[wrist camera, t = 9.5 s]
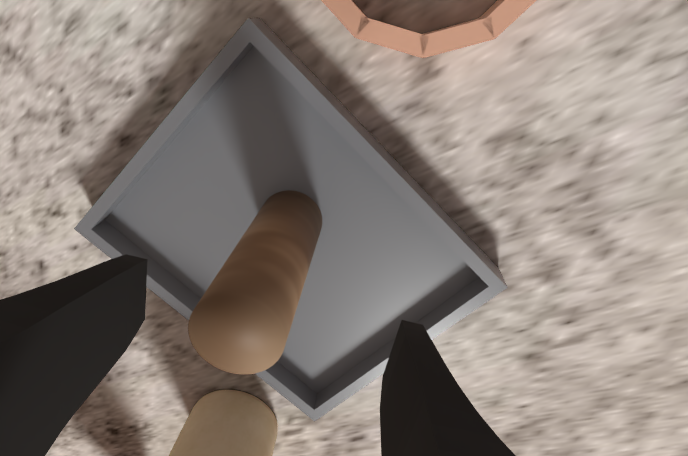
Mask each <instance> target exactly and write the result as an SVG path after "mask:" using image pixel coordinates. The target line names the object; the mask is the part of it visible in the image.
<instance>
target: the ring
mask: <svg viewBox="0 0 688 456" xmlns="http://www.w3.org/2000/svg"><path fill="white" fill-rule="evenodd" d="M321 1H322V2H323V3H324V4H325V5H326V6H327V7H328V8H329V9H330V10H331V12H332V13H333V14H334V15H335V16H336V17H337V18H338V19H339V20H340V22H341V23H342V24H343V25H344V26H345V27H346V28H347V29H348V30H349V32H350V33H351V34H352V35H353V36H354V37H356V38H357V39H361V40H364V41H367V42H371V43H374V44H377V45H381V46H384V47H387V48H391V49H394V50H397V51H401V52H404V53H407V54H411V55H414V56H417V57H421V58H425V57H429V56H433V55H436V54H440V53H444V52H448V51H451V50H455V49H459V48H463V47H467V46H470V45H474V44H478V43H482V42H485V41H489V40H493V39H495V38H496V37H497V36H498V35H500V34H501V33H502V32H503V31H504V30H505V29H506V28H507V27H508V26H509V25H510V24H511V23H513V22H514V21H515V20H516V19H517V18H518V17H519V16H520V15H521V14H522V13H523V12H524V11H526V10H527V9H528V8H529V7H530V6H531V5H532V4H533V3H534V2H535V1H536V0H497V1H496V2H495V3H494V4H493V5H492V6H491V7H490V8H489V9H488V10H487V11H486V12H485V13H484V14H483V15H482V16H481V17H480V18H478V19H474V20H471V21H467V22H464V23H460V24H456V25H453V26H449V27H445V28H442V29H438V30H434V31H431V32H427V33H424V34H420V33H417V32H413V31H410V30H407V29H403V28H400V27H397V26H393V25H390V24H387V23H383V22H380V21H377V20H374V19H370V18H368V17H367V16H366V15H365V14H364V13H363V12H362V11H361V9H360V8H359V7H358V6H357V5H356V4H355V3H354V2H353V0H321Z"/></svg>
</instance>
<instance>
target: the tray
mask: <svg viewBox="0 0 688 456" xmlns="http://www.w3.org/2000/svg"><path fill="white" fill-rule="evenodd" d="M287 190H291V191H297V192H301V193H303V194H305V195H307V196H308V197H310V198H311V199H312V200H313V201H314V202H315V203H316V204H317V206H318V207H319V209H320V211H321V215H322V228H321V232H320V235H319V238H318V241H317V244H316V248H315V251H314V254H313V257H312V261H311V264H310V267H309V270H308V273H307V277H306V280H305V283H304V286H303V290H302V293H301V296H300V299H299V302H298V306H297V309H296V312H295V315H294V319H293V322H292V325H291V328H290V331H289V335H288V338H287V341H286V344H285V348H284V351H283V353H282V355H281V357H280V358H279V360H278V361H277V362H276V363H275V364H274V365H273V366H271V367H270V368H268V369H266V370H264V371H262V372H258V373H255V374H256V375H257V376H259V377H260V378H261V379H262V380H264V381H265V382H266V383H267V384H269V385H270V386H271V387H272V388H274V389H275V390H276V391H277V392H279V393H280V394H281V395H282V396H284V397H285V398H286V399H287V400H289V401H290V402H291V403H292V404H294V405H295V406H296V407H297V408H299V409H300V410H301V411H302V412H304V413H305V414H306V415H307V416H309V417H310V418H311V419H312V420H314V421H316V420H317V419H319V418H320V417H322V416H323V415H325V414H326V413H327V412H329V411H330V410H332V409H333V408H335V407H336V406H337V405H339V404H340V403H342V402H343V401H345V400H346V399H348V398H349V397H350V396H352V395H353V394H355V393H356V392H358V391H359V390H361V389H362V388H363V387H365V386H366V385H368V384H369V383H371V382H372V381H374V380H375V379H376V378H378V377H379V376H381V375H382V374H384V371H385V368H386V365H387V362H388V359H389V356H390V353H391V350H392V347H393V344H394V341H395V338H396V335H397V332H398V329H399V326H400V323H401V320H405V321H409V322H413V323H417V324H422V325H423V326H424V327H425V329H426V331H427V333H428V334H429V336H430V338H431V340H433V339H434V338H435V337H437V336H438V335H440V334H441V333H443V332H444V331H446V330H447V329H448V328H450V327H451V326H453V325H454V324H456V323H457V322H459V321H460V320H461V319H463V318H464V317H466V316H467V315H469V314H470V313H471V312H473V311H474V310H476V309H477V308H479V307H480V306H482V305H483V304H484V303H486V302H487V301H489V300H490V299H492V298H493V297H495V296H496V295H497V294H499V293H500V292H502V291H503V290H505V289H506V288H507V285H506V283H505V281H504V279H503V276H502V274H501V272H500V270H499V268H498V267H497V266H496V265H495V264H494V263H493V262H492V261H491V260H490V259H489V258H488V257H487V256H486V255H485V253H484V252H483V251H482V250H481V249H480V248H479V247H478V246H477V245H476V244H475V243H474V242H473V241H472V240H471V239H470V238H469V237H468V236H467V235H466V234H465V233H464V231H463V230H462V229H461V228H460V227H459V226H458V225H457V224H456V223H455V222H454V221H453V220H452V219H451V218H450V217H449V216H448V215H447V214H446V213H445V212H444V211H443V209H442V208H441V207H440V206H439V205H438V204H437V203H436V202H435V201H434V200H433V199H432V198H431V197H430V196H429V195H428V194H427V193H426V192H425V191H424V190H423V189H422V187H421V186H420V185H419V184H418V183H417V182H416V181H415V180H414V179H413V178H412V177H411V176H410V175H409V174H408V173H407V172H406V171H405V170H404V169H403V168H402V167H401V165H400V164H399V163H398V162H397V161H396V160H395V159H394V158H393V157H392V156H391V155H390V154H389V153H388V152H387V151H386V150H385V149H384V148H383V147H382V146H381V145H380V143H379V142H378V141H377V140H376V139H375V138H374V137H373V136H372V135H371V134H370V133H369V132H368V131H367V130H366V129H365V128H364V127H363V126H362V125H361V124H360V123H359V121H358V120H357V119H356V118H355V117H354V116H353V115H352V114H351V113H350V112H349V111H348V110H347V109H346V108H345V107H344V106H343V105H342V104H341V103H340V102H339V101H338V99H337V98H336V97H335V96H334V95H333V94H332V93H331V92H330V91H329V90H328V89H327V88H326V87H325V86H324V85H323V84H322V83H321V82H320V81H319V80H318V79H317V77H316V76H315V75H314V74H313V73H312V72H311V71H310V70H309V69H308V68H307V67H306V66H305V65H304V64H303V63H302V62H301V61H300V60H299V59H298V58H297V57H296V55H295V54H294V53H293V52H292V51H291V50H290V49H289V48H288V47H287V46H286V45H285V44H284V43H283V42H282V41H281V40H280V39H279V38H278V37H277V36H276V35H275V33H274V32H273V31H272V30H271V29H270V28H269V27H268V26H267V25H266V24H265V23H264V22H263V21H262V20H261V19H260V18H248V19H247V20H246V21H245V22H244V24H243V25H242V26H241V27H240V28H239V30H238V31H237V32H236V33H235V34H234V36H233V37H232V38H231V39H230V41H229V42H228V43H227V44H226V45H225V47H224V48H223V49H222V50H221V51H220V53H219V54H218V55H217V56H216V58H215V59H214V60H213V61H212V62H211V64H210V65H209V66H208V67H207V68H206V70H205V71H204V72H203V73H202V74H201V76H200V77H199V78H198V79H197V81H196V82H195V83H194V84H193V85H192V87H191V88H190V89H189V90H188V91H187V93H186V94H185V95H184V96H183V97H182V99H181V100H180V101H179V102H178V104H177V105H176V106H175V107H174V108H173V110H172V111H171V112H170V113H169V114H168V116H167V117H166V118H165V119H164V120H163V122H162V123H161V124H160V125H159V127H158V128H157V129H156V130H155V131H154V133H153V134H152V135H151V136H150V137H149V139H148V140H147V141H146V142H145V143H144V145H143V146H142V147H141V148H140V150H139V151H138V152H137V153H136V154H135V156H134V157H133V158H132V159H131V160H130V162H129V163H128V164H127V165H126V167H125V168H124V169H123V170H122V171H121V173H120V174H119V175H118V176H117V177H116V179H115V180H114V181H113V182H112V183H111V185H110V186H109V187H108V188H107V190H106V191H105V192H104V193H103V194H102V196H101V197H100V198H99V199H98V200H97V202H96V203H95V204H94V205H93V206H92V208H91V209H90V210H89V211H88V213H87V214H86V215H85V216H84V217H83V219H82V220H81V221H80V222H79V223H78V225H77V226H76V227H75V228H74V229H75V230H76V231H77V232H79V233H80V234H81V235H82V236H84V237H85V238H86V239H87V240H89V241H90V242H91V243H92V244H94V245H95V246H96V247H97V248H99V249H100V250H101V251H102V252H104V253H105V254H106V255H107V256H109V257H110V258H111V259H114V258H116V257H119V256H122V255H125V254H127V255H131V256H135V257H140V258H144V259H148V261H147V282H146V287H147V288H149V289H150V290H151V291H152V292H154V293H155V294H156V295H157V296H159V297H160V298H161V299H162V300H164V301H165V302H166V303H167V304H169V305H170V306H171V307H172V308H174V309H175V310H176V311H177V312H179V313H180V314H181V315H182V316H184V317H185V318H186V319H187V320H189V319H190V315H191V314H192V312H193V310H194V308H195V307H196V305H197V304H198V302H199V301H200V299H201V298H202V296H203V295H204V293H205V292H206V290H207V289H208V287H209V286H210V284H211V283H212V281H213V280H214V278H215V277H216V275H217V274H218V272H219V271H220V269H221V268H222V266H223V265H224V263H225V262H226V260H227V259H228V257H229V256H230V254H231V253H232V251H233V250H234V248H235V247H236V245H237V244H238V242H239V241H240V239H241V238H242V236H243V235H244V233H245V232H246V230H247V229H248V227H249V226H250V224H251V223H252V221H253V220H254V218H255V217H256V215H257V214H258V212H259V211H260V209H261V208H262V206H263V205H264V203H265V202H266V201H267V199H268V198H269V197H271V196H272V195H274V194H275V193H278V192H281V191H287Z"/></svg>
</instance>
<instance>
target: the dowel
mask: <svg viewBox="0 0 688 456" xmlns="http://www.w3.org/2000/svg"><path fill="white" fill-rule="evenodd" d="M321 228H322V215H321V211H320V209H319V207H318V206H317V204H316V203H315V202H314V201H313V200H312V199H311V198H310V197H308V196H307V195H305V194H303V193H301V192H297V191H291V190H287V191H281V192H278V193H275V194H274V195H272V196H271V197H269V198H268V199H267V201H266V202H265V203H264V205H263V206H262V208H261V209H260V211H259V212H258V214H257V215H256V217H255V218H254V220H253V221H252V223H251V224H250V226H249V227H248V229H247V230H246V232H245V233H244V235H243V236H242V238H241V239H240V241H239V242H238V244H237V245H236V247H235V248H234V250H233V251H232V253H231V254H230V256H229V257H228V259H227V260H226V262H225V263H224V265H223V266H222V268H221V269H220V271H219V272H218V274H217V275H216V277H215V278H214V280H213V281H212V283H211V284H210V286H209V287H208V289H207V290H206V292H205V293H204V295H203V296H202V298H201V299H200V301H199V302H198V304H197V305H196V307H195V308H194V310H193V312H192V314H191V315H190V319H189V323H188V332H189V337H190V340H191V343H192V345H193V347H194V348H195V350H196V351H197V352H198V354H199V355H200V356H201V357H202V358H203V359H204V360H205V361H207V362H208V363H209V364H211V365H213V366H214V367H216V368H218V369H220V370H223V371H226V372H229V373H234V374H254V373H258V372H262V371H264V370H266V369H268V368H270V367H271V366H273V365H274V364H275V363H276V362H277V361H278V360H279V358H280V357H281V355H282V353H283V351H284V348H285V344H286V341H287V338H288V335H289V331H290V328H291V325H292V322H293V319H294V315H295V312H296V309H297V306H298V302H299V299H300V296H301V293H302V290H303V286H304V283H305V280H306V277H307V273H308V270H309V267H310V264H311V261H312V257H313V254H314V251H315V248H316V244H317V241H318V238H319V235H320V232H321Z"/></svg>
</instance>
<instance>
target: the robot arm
mask: <svg viewBox="0 0 688 456" xmlns="http://www.w3.org/2000/svg"><path fill="white" fill-rule="evenodd" d="M147 261H148V259H144V258H140V257H135V256H131V255H127V254H125V255H122V256H119V257H116V258H114V259H111V260H108V261H106V262H103V263H101V264H98V265H96V266H93V267H91V268H88V269H86V270H83V271H80V272H78V273H75V274H73V275H70V276H68V277H65V278H63V279H60V280H57V281H55V282H52V283H49V284H46V285H43V286H41V287H38V288H35V289H32V290H29V291H26V292H23V293H21V294H18V295H15V296H11V297H8V298H5V299H2V300H0V456H45V455H46V453H47V452H48V450H49V449H50V447H51V446H52V444H53V443H54V441H55V440H56V438H57V437H58V435H59V434H60V432H61V431H62V429H63V428H64V427H65V425H66V424H67V423H68V421H69V420H70V419H71V417H72V416H73V415H74V414H75V412H76V411H77V410H78V409H79V407H80V406H81V405H82V404H83V403H84V401H85V400H86V399H87V398H88V396H89V395H90V394H91V393H92V391H93V390H94V389H95V388H96V387H97V385H98V384H99V383H100V382H101V380H102V379H103V378H104V377H105V376H106V374H107V373H108V372H109V371H110V369H111V368H112V367H113V366H114V364H115V363H116V362H117V361H118V359H119V358H120V357H121V356H122V354H123V353H124V352H125V351H126V349H127V348H128V346H129V345H130V343H131V341H132V340H133V338H134V337H135V335H136V333H137V332H138V330H139V328H140V326H141V325H142V323H143V321H144V320H145V303H146V282H147ZM380 426H381V453H382V456H515V455H514V454H513V452H512V451H511V450H510V449H509V448H508V447H507V446H506V445H505V444H504V443H503V442H502V441H501V440H500V438H499V437H498V436H497V435H496V434H495V433H494V431H493V430H492V429H491V428H490V427H489V425H488V424H487V423H486V422H485V421H484V419H483V418H482V417H481V416H480V414H479V413H478V412H477V411H476V409H475V408H474V407H473V405H472V404H471V402H470V401H469V400H468V398H467V397H466V395H465V394H464V393H463V391H462V390H461V388H460V387H459V385H458V384H457V382H456V381H455V379H454V377H453V376H452V374H451V373H450V371H449V369H448V368H447V366H446V364H445V363H444V361H443V359H442V358H441V356H440V354H439V352H438V351H437V349H436V347H435V345H434V343H433V342H432V340H431V338H430V336H429V334H428V333H427V331H426V329H425V327H424V326H423V325H422V324H417V323H413V322H409V321H405V320H401V323H400V326H399V329H398V332H397V335H396V338H395V341H394V344H393V347H392V350H391V353H390V356H389V359H388V362H387V365H386V368H385V371H384V374H383V380H382V390H381V402H380Z"/></svg>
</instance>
